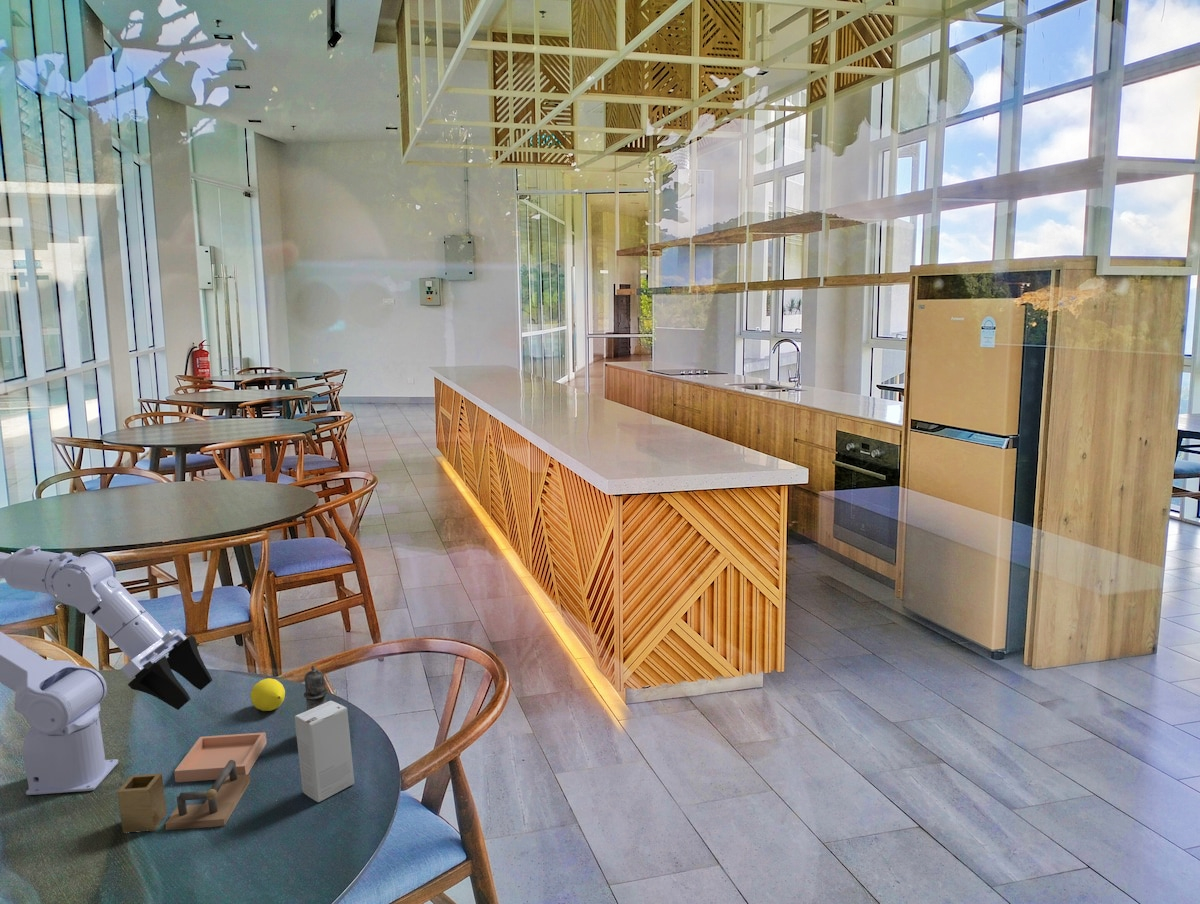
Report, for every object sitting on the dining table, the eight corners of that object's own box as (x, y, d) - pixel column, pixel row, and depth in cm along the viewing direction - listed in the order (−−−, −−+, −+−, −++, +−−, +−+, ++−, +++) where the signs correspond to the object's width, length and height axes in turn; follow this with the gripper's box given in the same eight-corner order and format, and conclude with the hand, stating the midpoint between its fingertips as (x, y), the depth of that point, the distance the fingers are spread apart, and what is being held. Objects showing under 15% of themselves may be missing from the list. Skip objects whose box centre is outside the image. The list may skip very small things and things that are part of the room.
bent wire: (166, 830, 114) (162, 801, 114) (197, 784, 125) (194, 757, 124) (224, 825, 115) (220, 797, 114) (250, 780, 126) (247, 753, 125)
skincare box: (338, 775, 126) (331, 697, 124) (356, 785, 123) (349, 706, 121) (300, 794, 122) (292, 714, 120) (318, 805, 119) (309, 723, 117)
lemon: (246, 712, 148) (240, 682, 148) (275, 701, 152) (270, 671, 152) (266, 719, 143) (260, 688, 143) (295, 707, 147) (290, 676, 147)
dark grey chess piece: (327, 747, 134) (320, 674, 132) (293, 744, 136) (285, 672, 134) (345, 728, 140) (339, 659, 138) (312, 726, 141) (305, 657, 139)
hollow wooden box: (123, 833, 114) (117, 791, 113) (136, 815, 118) (131, 775, 117) (154, 831, 114) (148, 789, 113) (167, 813, 118) (161, 773, 117)
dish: (175, 782, 126) (174, 771, 125) (201, 747, 136) (200, 736, 135) (246, 777, 127) (244, 766, 126) (266, 742, 136) (265, 732, 136)
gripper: (124, 621, 115) (195, 694, 117) (173, 594, 130) (235, 660, 131) (85, 655, 116) (156, 728, 117) (138, 624, 130) (201, 690, 131)
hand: (196, 694), depth 124 cm, fingers open, 7 cm apart
